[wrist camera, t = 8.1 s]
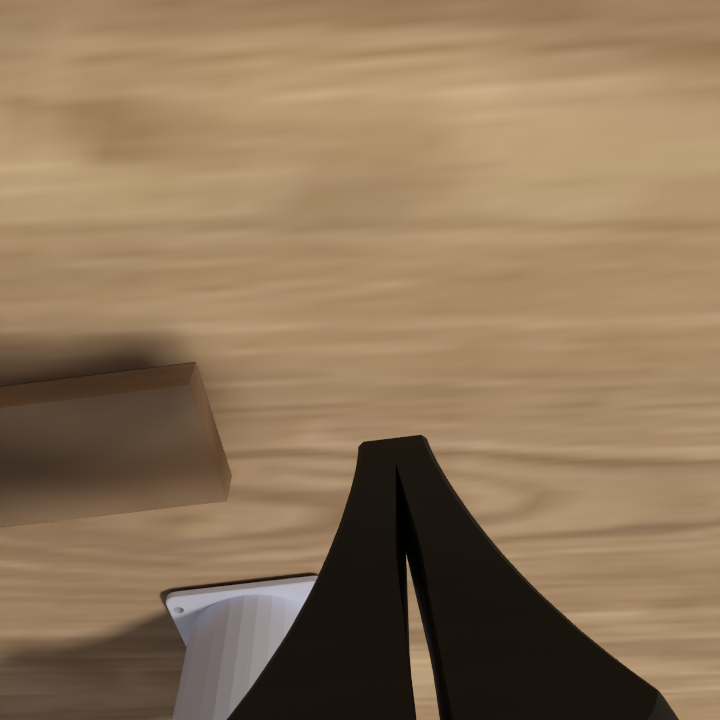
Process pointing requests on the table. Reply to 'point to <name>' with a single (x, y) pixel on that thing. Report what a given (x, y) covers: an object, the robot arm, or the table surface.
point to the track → (108, 446)
